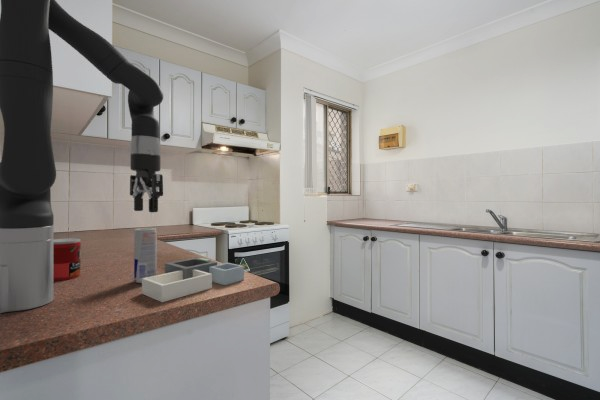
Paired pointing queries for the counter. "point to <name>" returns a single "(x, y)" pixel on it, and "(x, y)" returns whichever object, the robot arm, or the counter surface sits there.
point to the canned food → (66, 258)
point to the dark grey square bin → (189, 266)
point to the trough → (175, 285)
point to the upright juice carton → (145, 253)
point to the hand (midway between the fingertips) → (145, 211)
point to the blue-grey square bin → (227, 273)
